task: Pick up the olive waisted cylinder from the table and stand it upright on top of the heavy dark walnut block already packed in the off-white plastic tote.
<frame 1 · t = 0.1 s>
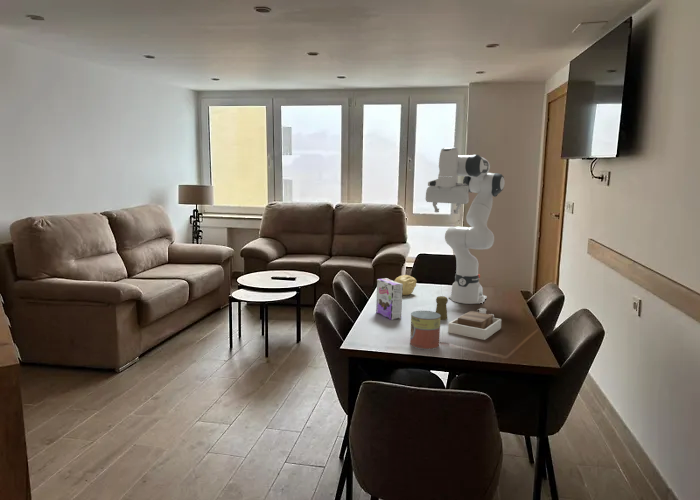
hand: (446, 212, 232), 48 cm above the table, tool pointing down, fingers open, 8 cm apart
candy box: (388, 316, 233), on the table
walnut block: (474, 330, 210), point 1 cm above the table, touching tote
tote: (474, 332, 210), on the table
canned food: (424, 345, 194), on the table
beige rounded lump: (403, 294, 277), on the table
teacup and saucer: (485, 319, 232), on the table
olive waisted cylinder: (440, 320, 227), on the table
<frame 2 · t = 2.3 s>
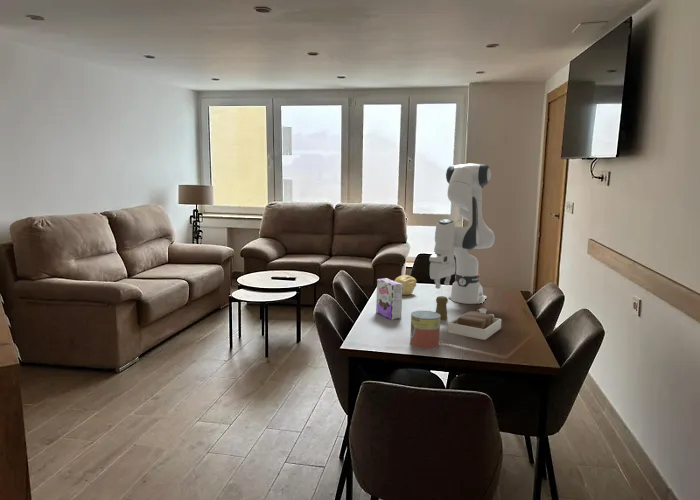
hand: (442, 286, 225), 16 cm above the table, tool pointing down, fingers open, 8 cm apart
nothing on the table moved.
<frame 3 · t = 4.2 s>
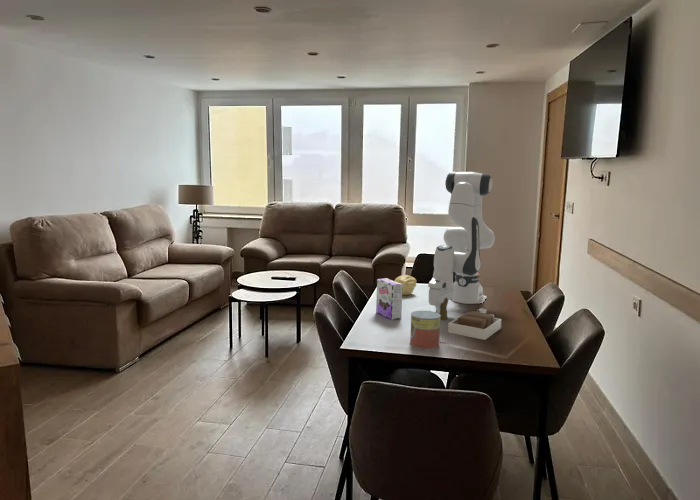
hand: (441, 311, 227), 4 cm above the table, tool pointing down, fingers closed on olive waisted cylinder, 5 cm apart
olive waisted cylinder: (440, 320, 227), on the table, touching gripper
everything else where it was.
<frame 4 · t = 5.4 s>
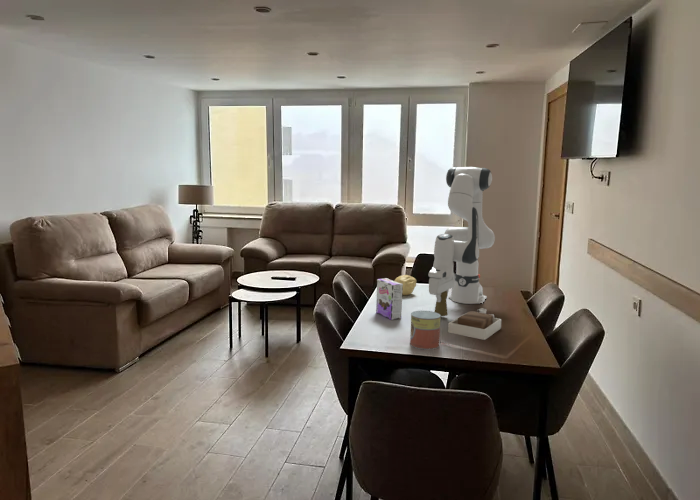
hand: (441, 300, 227), 9 cm above the table, tool pointing down, fingers closed on olive waisted cylinder, 4 cm apart
olive waisted cylinder: (440, 314, 228), point 2 cm above the table, touching gripper
everything else where it was.
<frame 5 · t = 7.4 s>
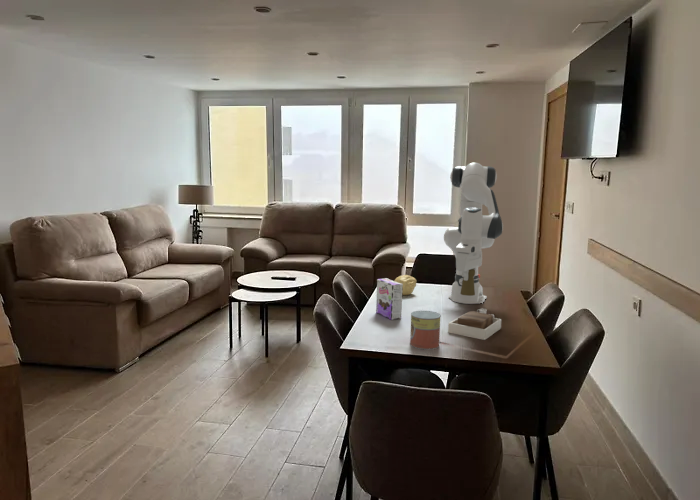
hand: (468, 279, 211), 22 cm above the table, tool pointing down, fingers closed on olive waisted cylinder, 4 cm apart
olive waisted cylinder: (467, 294, 211), point 15 cm above the table, touching gripper
everything else where it was.
when the fingers open (13 cm above the table, at t = 10.2 s): olive waisted cylinder stays where it is, resting on walnut block.
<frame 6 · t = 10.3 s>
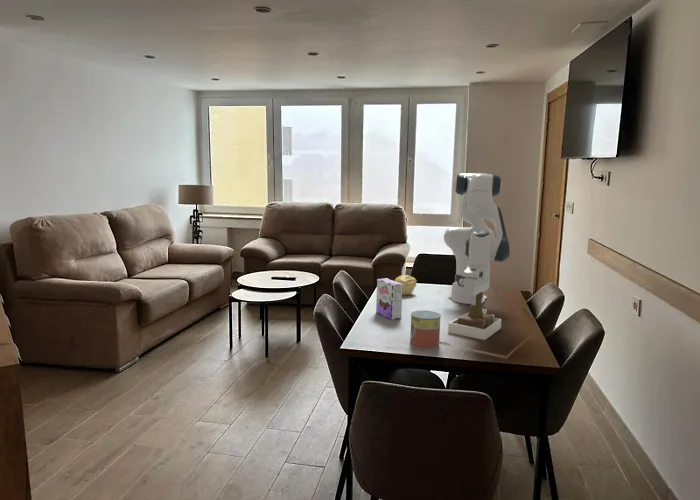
hand: (476, 303, 208), 13 cm above the table, tool pointing down, fingers open, 5 cm apart
walnut block: (474, 330, 210), point 1 cm above the table, touching olive waisted cylinder, tote
olive waisted cylinder: (475, 316, 209), point 7 cm above the table, touching walnut block
everything else where it was.
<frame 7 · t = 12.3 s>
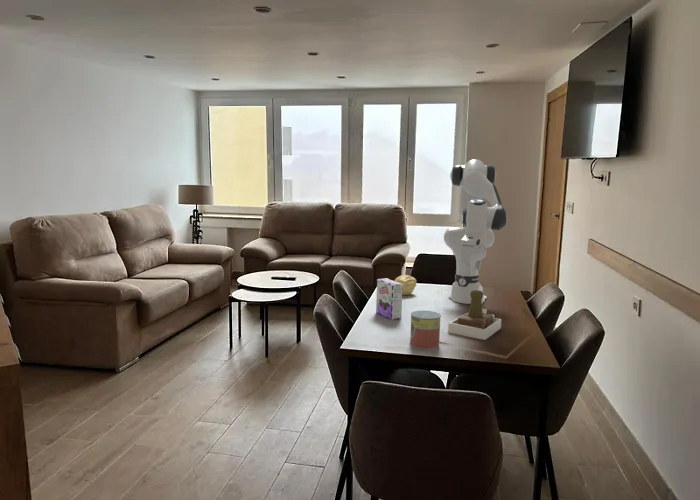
hand: (473, 271, 212), 25 cm above the table, tool pointing down, fingers open, 8 cm apart
nothing on the table moved.
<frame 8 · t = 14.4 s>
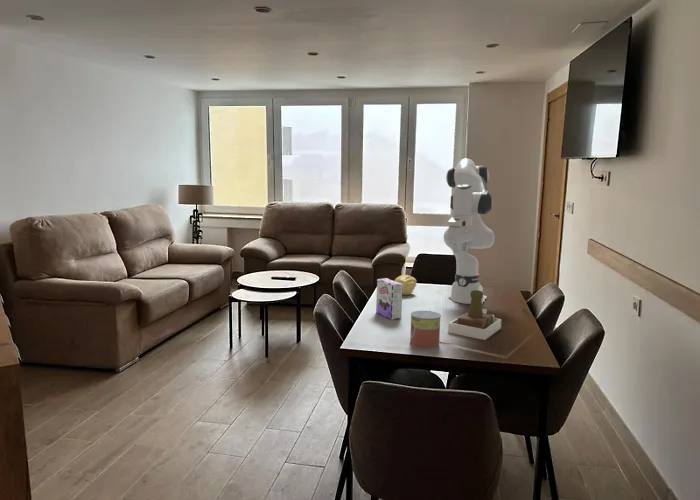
hand: (460, 252, 225), 31 cm above the table, tool pointing down, fingers open, 8 cm apart
nothing on the table moved.
at the end: olive waisted cylinder inside the target area on the tote (0.1 cm from its centre), point 6.8 cm above the tote's base; olive waisted cylinder tilted 0°; olive waisted cylinder touching walnut block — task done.
